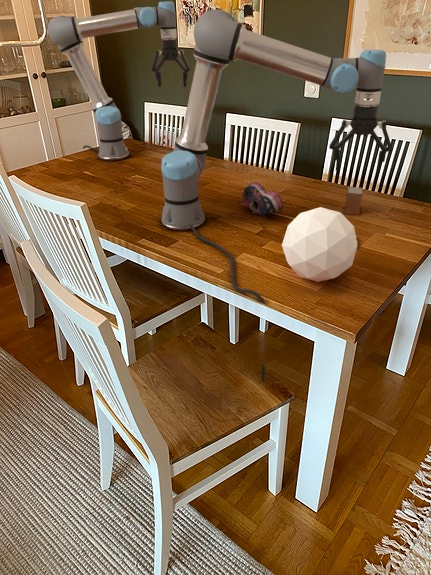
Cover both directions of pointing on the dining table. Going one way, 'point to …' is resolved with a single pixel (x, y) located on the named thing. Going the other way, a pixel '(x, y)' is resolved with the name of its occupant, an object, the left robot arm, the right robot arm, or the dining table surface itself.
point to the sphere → (320, 244)
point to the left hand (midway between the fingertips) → (172, 86)
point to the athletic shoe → (261, 200)
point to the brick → (353, 200)
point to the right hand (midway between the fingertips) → (357, 170)
